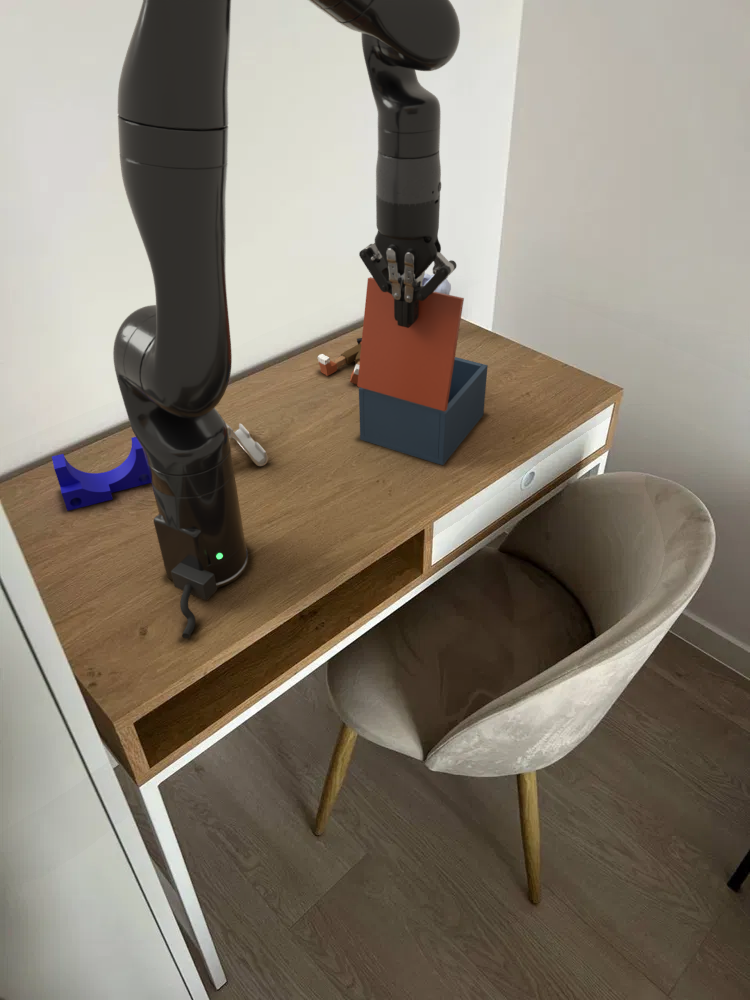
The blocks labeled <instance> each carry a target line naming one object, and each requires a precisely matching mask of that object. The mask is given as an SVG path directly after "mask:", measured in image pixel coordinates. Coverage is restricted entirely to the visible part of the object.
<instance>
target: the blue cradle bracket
mask: <svg viewBox="0 0 750 1000" xmlns="http://www.w3.org/2000/svg"><path fill="white" fill-rule="evenodd" d="M130 438H131V449H130V451H129V453H128V455H127V457H126V459H125V460H124V461H123V462H122V463H121V464H120V465H118V466H117V467H114V468H113V469H111V470H107V471H104V472H98V473H97V472H96V473H95V472H93V473H92V472H87V471H86V472H85V471H82V470H80V469H78V468H76V467H74V466H73V465H72V464H71V463H70V462H68V459H66V456H65V455H64V453H61V454H57V455H52V456H51V459H52V460H51V461H52V464H53V471H54V473H55V476H56V478H57V482H58V484H59V485H58V486H59V488H60V493H61V497H62V500H63V502H64V506H65V508H66V511H67V512H69V511H73V510H77V509H80V508H84V507H88V506H89V507H90V506H92V505H96V504H99V503H104V502H108V501H111V500H114V499H113V495H112V493H116V492H120V491H126V490H128V489H132V488H136V487H139V486H145V485H148V484H152V483H151V478H150V474H149V470H148V466H147V461H146V457H145V453H144V450H143V448H142V446H141V444H140V443H139V441H138V439H137V438H136V436H134V437H130Z"/></svg>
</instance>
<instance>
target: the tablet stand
mask: <svg viewBox="0 0 750 1000" xmlns="http://www.w3.org/2000/svg"><path fill="white" fill-rule="evenodd" d="M224 422H225V423H226V426H227V429H228V434H229V440H230V439H233V440H234V441H235V442H237V444H239V446H240V447H241V448H242V449H243V451H244V452H245V453H246V454H247V455H248V456H249V458H250V460H251V461H252V462H253V463H254V464H255V465H256V466H257V467H263V466H265V465H266V464H267V463H268V461H269V457H268V454H267V451H266V450H265V449H264V448H263V446H262V445H261V444H260V443H259V442H258V441H255V440H254V439H253V438H252V437H251V434H250V432H249V430H248V429H246V427H245V426H244V425H243V423H238V428H237V430H235V431H234V429H233V428H232V427H231V425H229V424H228V423H227V422H226V421H225V420H224Z"/></svg>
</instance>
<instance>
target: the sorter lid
mask: <svg viewBox="0 0 750 1000" xmlns="http://www.w3.org/2000/svg"><path fill="white" fill-rule="evenodd" d="M464 300H465V297H461V296H457V295H451V294H449V295H448V294H443V293H439V292H433V293H432V294H430V295H429V296H428V297H427V298H426V299H425V300H424V301H420V300H419V316H418V319H417V321H415V322H414V323H413V324H412V325H411V326H410V327H409V328H406V327H402V326H398V324H397V321H396V320H395V318H394V298H393V296H392V294H390V293H388V292H383V291H381V289H380V288H379V286H378V285H377V283H376V281H375V280H374V278H373V277H372V276H370V277H367V284H366V294H365V303H364V311H363V313H364V314H363V323H362V335H361V338H362V343H361V353H360V364H359V374H358V384H356V386H357V387H358V388H360V387H361V388H364V389H368V390H371V391H375V392H378V393H382V394H385V395H389V396H392V397H396V398H399V399H403V400H406V401H410V402H413V403H417V404H420V405H424V406H428V407H431V408H435V409H438V410H442V411H446V410H447V406H448V399H449V392H450V386H451V379H452V373H453V366H454V360H455V357H456V353H457V346H458V340H459V334H460V327H461V320H462V313H463V308H464V307H463V306H464Z"/></svg>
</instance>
